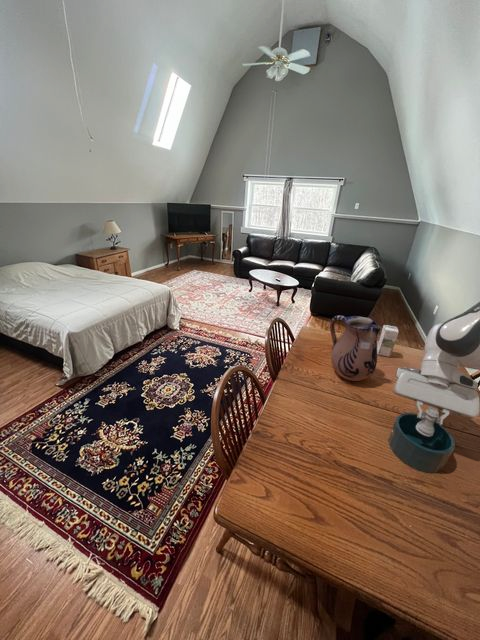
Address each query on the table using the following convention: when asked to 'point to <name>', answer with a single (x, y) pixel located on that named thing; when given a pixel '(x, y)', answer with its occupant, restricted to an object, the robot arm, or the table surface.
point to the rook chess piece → (427, 422)
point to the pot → (420, 444)
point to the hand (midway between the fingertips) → (429, 421)
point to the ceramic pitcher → (355, 348)
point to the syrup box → (387, 340)
